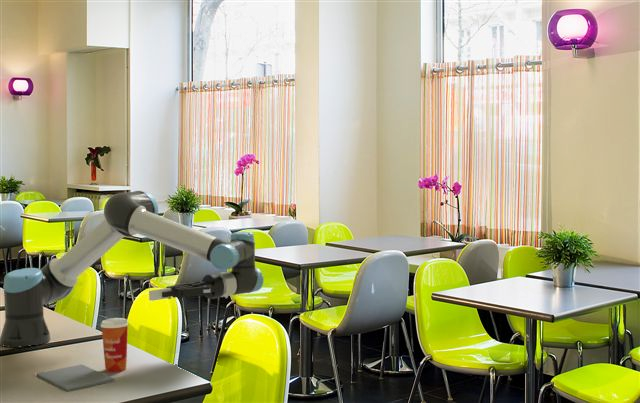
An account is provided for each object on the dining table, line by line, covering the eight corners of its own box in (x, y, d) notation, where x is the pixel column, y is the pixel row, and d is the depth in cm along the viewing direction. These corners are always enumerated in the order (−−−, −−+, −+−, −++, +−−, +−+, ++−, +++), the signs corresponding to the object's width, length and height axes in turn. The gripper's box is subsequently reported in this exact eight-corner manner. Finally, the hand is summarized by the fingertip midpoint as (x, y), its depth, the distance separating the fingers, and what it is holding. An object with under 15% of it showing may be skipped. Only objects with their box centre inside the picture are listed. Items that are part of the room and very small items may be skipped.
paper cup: (95, 371, 215) (94, 321, 214) (115, 364, 222) (113, 316, 221) (117, 374, 212) (115, 324, 211) (136, 367, 218) (134, 318, 218)
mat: (37, 375, 212) (36, 373, 212) (82, 366, 221) (81, 364, 221) (67, 391, 197) (67, 389, 197) (114, 381, 206) (114, 378, 206)
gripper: (230, 300, 234) (162, 311, 218) (206, 295, 243) (139, 305, 228) (230, 275, 233) (161, 285, 218) (206, 271, 243) (138, 280, 227)
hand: (150, 295), depth 223 cm, fingers closed
